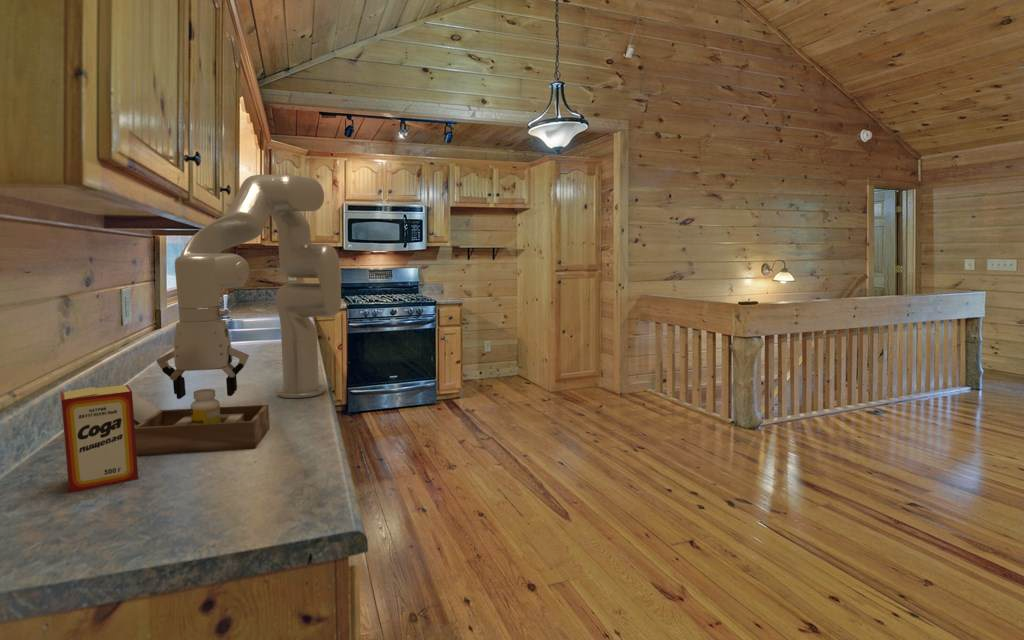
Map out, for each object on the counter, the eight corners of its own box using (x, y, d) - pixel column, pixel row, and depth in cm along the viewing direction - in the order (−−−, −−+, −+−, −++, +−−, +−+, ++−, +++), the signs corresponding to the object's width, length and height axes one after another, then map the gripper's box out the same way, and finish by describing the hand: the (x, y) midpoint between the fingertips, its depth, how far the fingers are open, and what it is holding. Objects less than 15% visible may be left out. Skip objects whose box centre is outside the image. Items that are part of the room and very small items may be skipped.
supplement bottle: (187, 437, 118) (184, 391, 117) (212, 431, 122) (209, 386, 121) (201, 442, 115) (198, 395, 114) (226, 435, 120) (224, 389, 119)
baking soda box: (133, 468, 103) (127, 382, 102) (138, 478, 98) (131, 388, 97) (67, 481, 97) (60, 390, 96) (69, 492, 92) (61, 397, 91)
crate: (162, 434, 123) (160, 410, 123) (269, 428, 128) (268, 404, 127) (133, 456, 110) (131, 428, 109) (255, 448, 114) (253, 422, 114)
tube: (176, 411, 128) (143, 393, 145) (151, 408, 124) (119, 390, 141) (169, 435, 127) (137, 413, 144) (143, 432, 123) (113, 411, 140)
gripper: (249, 311, 121) (254, 389, 124) (160, 314, 118) (168, 393, 120) (240, 316, 114) (246, 398, 117) (145, 319, 111) (153, 403, 113)
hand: (206, 395), depth 118 cm, fingers open, 9 cm apart
